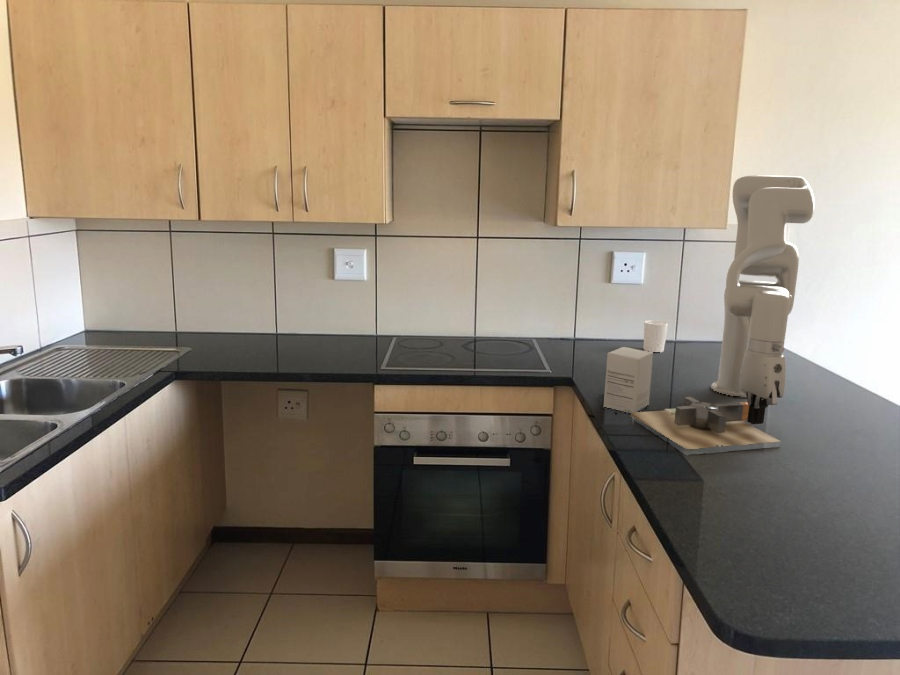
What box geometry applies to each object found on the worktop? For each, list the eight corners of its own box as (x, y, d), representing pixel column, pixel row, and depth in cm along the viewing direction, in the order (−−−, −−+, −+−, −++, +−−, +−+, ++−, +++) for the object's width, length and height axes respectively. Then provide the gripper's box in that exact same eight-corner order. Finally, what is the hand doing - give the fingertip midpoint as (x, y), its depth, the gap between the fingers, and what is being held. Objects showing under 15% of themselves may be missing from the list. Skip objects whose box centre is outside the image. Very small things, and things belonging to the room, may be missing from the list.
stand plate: (714, 412, 178) (715, 406, 178) (779, 447, 155) (781, 440, 155) (630, 418, 172) (631, 411, 172) (685, 455, 149) (686, 448, 149)
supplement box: (617, 399, 187) (622, 345, 183) (649, 407, 181) (654, 351, 178) (602, 407, 180) (606, 352, 176) (634, 415, 174) (639, 358, 171)
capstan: (734, 411, 173) (736, 393, 172) (773, 431, 160) (775, 412, 159) (660, 417, 168) (661, 398, 167) (693, 438, 155) (695, 418, 154)
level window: (686, 409, 175) (686, 407, 175) (692, 413, 172) (692, 410, 172) (664, 411, 173) (664, 408, 173) (670, 414, 171) (670, 412, 171)
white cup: (637, 348, 243) (639, 321, 241) (654, 347, 246) (657, 319, 244) (652, 354, 236) (654, 325, 234) (670, 352, 239) (673, 324, 237)
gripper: (803, 353, 150) (791, 433, 154) (757, 338, 164) (747, 411, 168) (774, 355, 148) (763, 435, 152) (729, 339, 162) (721, 413, 166)
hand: (755, 422), depth 160 cm, fingers closed
